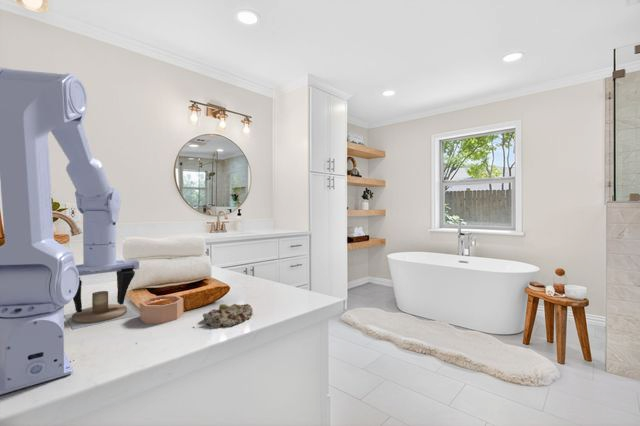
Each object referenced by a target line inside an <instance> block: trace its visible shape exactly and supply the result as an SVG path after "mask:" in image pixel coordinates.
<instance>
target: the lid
mask: <svg viewBox="0 0 640 426" xmlns="http://www.w3.org/2000/svg"><path fill="white" fill-rule="evenodd" d="M91 295H92V296H91V297H92V299H91V305H92V306H91V307H86V308H83V309H82V312H78V313H77V312H76V311H75V312H73V313H74V314H73V315H72V321H73V322H75V323H97V322H103V321H108V320H112V319H115V318H118V317H120V316H123V315H124V314H126V312H127V308H128V307H127V306H126V305H125V304H123V305H120V304H119V303H114V304H113V303H111V304H109V291H108V290H101V291H95V292H92V294H91ZM124 305H125V306H124Z"/></svg>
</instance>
